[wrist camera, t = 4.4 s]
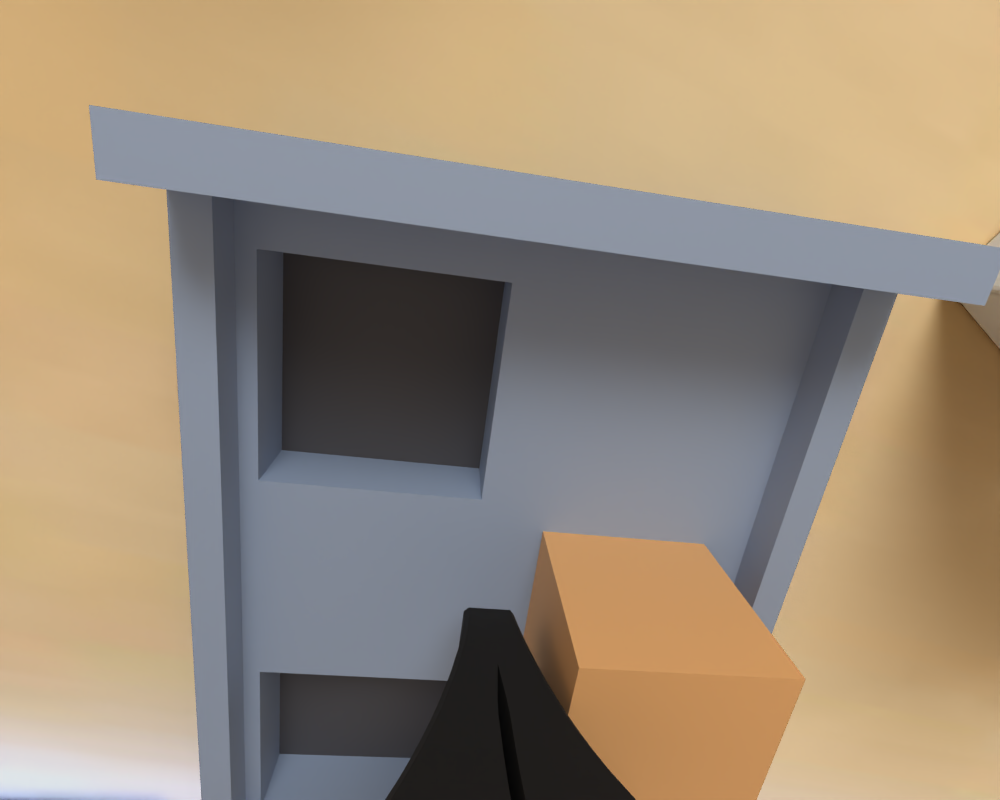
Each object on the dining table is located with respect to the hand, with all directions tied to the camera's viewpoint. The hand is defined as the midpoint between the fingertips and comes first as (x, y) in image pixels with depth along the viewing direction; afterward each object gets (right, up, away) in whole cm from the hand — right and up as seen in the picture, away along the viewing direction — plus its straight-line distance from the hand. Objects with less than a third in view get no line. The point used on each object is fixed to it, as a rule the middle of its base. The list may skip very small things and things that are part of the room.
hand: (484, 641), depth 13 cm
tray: (0, +2, +3) cm, 4 cm away
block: (+3, 0, +2) cm, 4 cm away
